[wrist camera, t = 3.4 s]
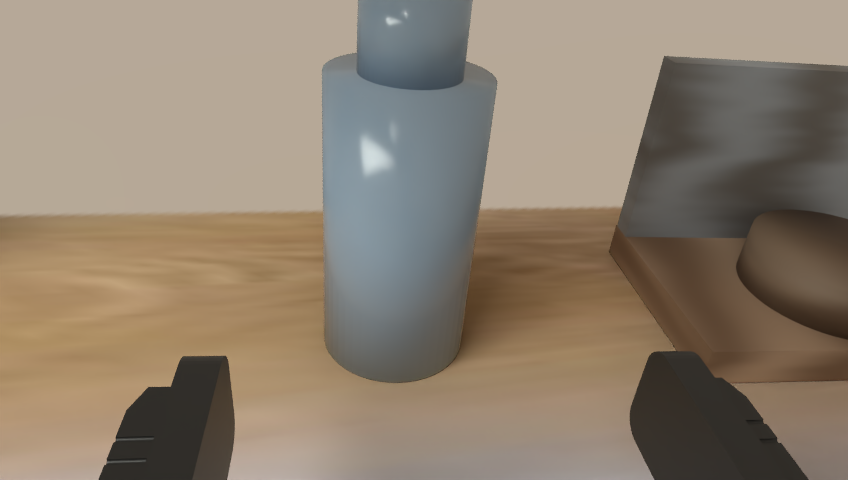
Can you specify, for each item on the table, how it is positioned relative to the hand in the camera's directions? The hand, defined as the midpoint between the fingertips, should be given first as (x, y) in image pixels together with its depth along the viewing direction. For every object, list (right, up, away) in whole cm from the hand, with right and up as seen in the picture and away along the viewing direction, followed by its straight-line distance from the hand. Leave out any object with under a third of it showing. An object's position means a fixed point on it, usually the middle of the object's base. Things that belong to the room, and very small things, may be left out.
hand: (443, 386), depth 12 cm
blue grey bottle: (-1, -1, +12) cm, 12 cm away
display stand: (+16, 0, +15) cm, 22 cm away
